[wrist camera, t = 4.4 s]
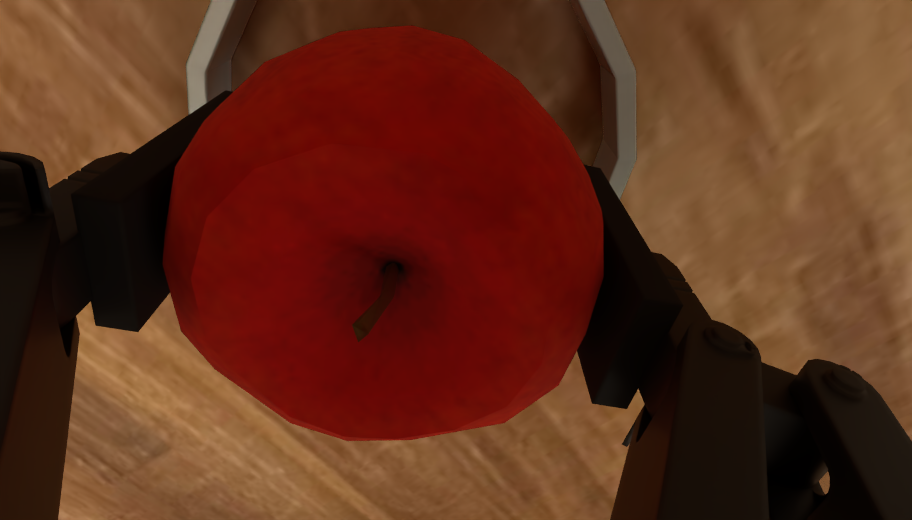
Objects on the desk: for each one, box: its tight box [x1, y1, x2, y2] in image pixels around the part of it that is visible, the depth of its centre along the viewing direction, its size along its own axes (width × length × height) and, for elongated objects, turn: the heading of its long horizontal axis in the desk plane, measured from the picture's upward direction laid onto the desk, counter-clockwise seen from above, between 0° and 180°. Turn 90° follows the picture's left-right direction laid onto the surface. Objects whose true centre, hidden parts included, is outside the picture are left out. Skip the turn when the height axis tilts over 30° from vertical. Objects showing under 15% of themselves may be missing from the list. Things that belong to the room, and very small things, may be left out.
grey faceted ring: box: [186, 0, 637, 200], centre depth 17 cm, size 14×14×2 cm
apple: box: [162, 25, 604, 441], centre depth 13 cm, size 9×9×11 cm
